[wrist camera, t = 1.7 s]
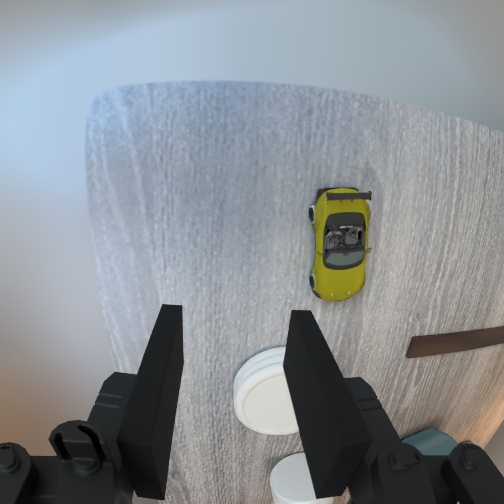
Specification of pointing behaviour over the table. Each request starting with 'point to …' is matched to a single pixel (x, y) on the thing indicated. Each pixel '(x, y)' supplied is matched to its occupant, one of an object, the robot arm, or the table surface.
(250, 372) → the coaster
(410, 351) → the ruler
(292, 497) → the mug
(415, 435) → the flower pot
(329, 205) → the sports car
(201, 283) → the table surface
